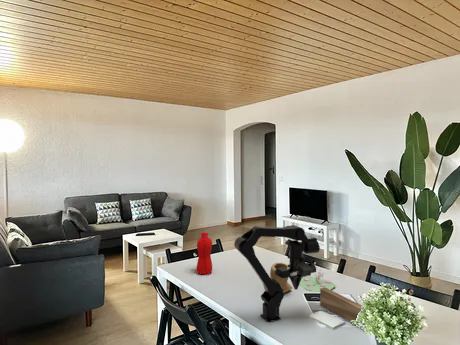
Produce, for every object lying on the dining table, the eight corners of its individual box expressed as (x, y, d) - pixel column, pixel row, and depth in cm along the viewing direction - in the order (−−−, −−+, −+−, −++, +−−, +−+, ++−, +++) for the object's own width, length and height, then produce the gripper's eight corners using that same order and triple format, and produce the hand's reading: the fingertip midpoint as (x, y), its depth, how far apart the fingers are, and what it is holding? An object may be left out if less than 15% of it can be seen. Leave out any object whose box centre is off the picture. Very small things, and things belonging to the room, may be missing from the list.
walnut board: (366, 331, 120) (366, 311, 120) (320, 305, 143) (320, 288, 143) (371, 330, 121) (371, 310, 121) (324, 303, 145) (325, 287, 145)
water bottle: (213, 269, 193) (213, 230, 193) (210, 275, 183) (210, 234, 182) (199, 269, 194) (199, 230, 194) (195, 275, 183) (195, 233, 183)
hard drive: (345, 321, 126) (321, 310, 136) (333, 327, 121) (308, 315, 132) (345, 325, 126) (321, 313, 136) (333, 331, 121) (308, 318, 132)
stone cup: (279, 299, 149) (279, 269, 149) (261, 292, 159) (262, 263, 158) (298, 291, 159) (298, 263, 159) (281, 285, 168) (281, 258, 168)
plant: (284, 281, 175) (284, 266, 175) (307, 274, 187) (307, 259, 187) (320, 296, 155) (320, 278, 155) (343, 286, 167) (343, 270, 167)
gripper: (290, 262, 123) (289, 300, 123) (325, 256, 131) (324, 292, 131) (274, 255, 133) (274, 290, 133) (307, 250, 141) (307, 283, 141)
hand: (295, 289), depth 135 cm, fingers closed
